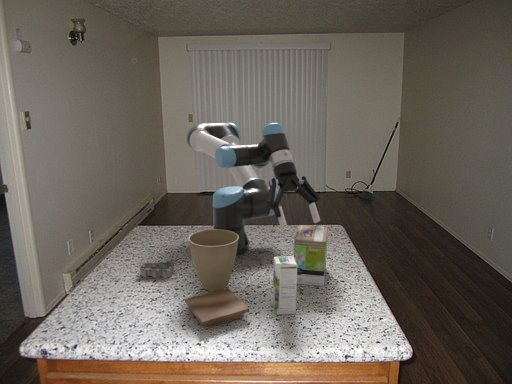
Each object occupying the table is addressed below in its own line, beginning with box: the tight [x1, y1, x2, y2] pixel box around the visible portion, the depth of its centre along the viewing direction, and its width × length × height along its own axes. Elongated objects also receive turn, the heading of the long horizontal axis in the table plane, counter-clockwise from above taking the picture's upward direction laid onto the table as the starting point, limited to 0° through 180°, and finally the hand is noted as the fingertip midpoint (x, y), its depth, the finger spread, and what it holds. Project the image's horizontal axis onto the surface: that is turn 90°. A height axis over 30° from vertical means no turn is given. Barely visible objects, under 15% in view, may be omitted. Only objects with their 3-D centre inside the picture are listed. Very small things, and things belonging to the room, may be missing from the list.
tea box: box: [293, 224, 329, 287], centre depth 127 cm, size 15×10×15 cm
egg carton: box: [138, 258, 176, 279], centre depth 130 cm, size 11×8×4 cm
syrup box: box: [272, 255, 298, 316], centre depth 106 cm, size 6×6×14 cm
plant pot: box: [187, 228, 239, 292], centre depth 120 cm, size 15×15×16 cm
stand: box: [184, 287, 250, 329], centre depth 105 cm, size 13×13×3 cm
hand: (301, 224), depth 129 cm, fingers open, 13 cm apart
